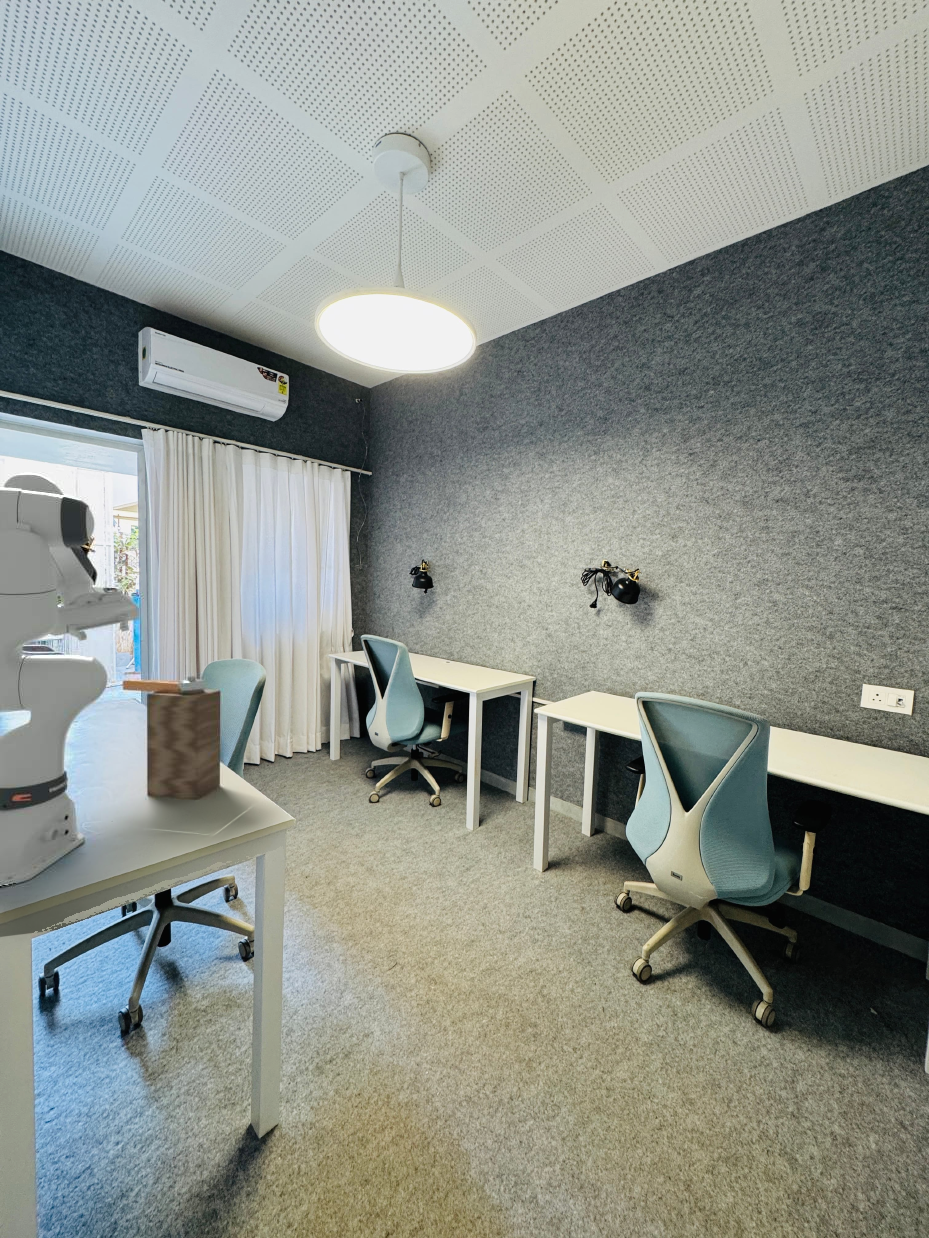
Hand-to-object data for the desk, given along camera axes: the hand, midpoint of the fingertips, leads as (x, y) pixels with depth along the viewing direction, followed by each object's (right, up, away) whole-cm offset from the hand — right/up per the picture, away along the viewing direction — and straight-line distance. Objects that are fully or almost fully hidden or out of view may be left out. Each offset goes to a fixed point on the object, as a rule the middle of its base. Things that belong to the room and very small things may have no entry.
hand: (105, 633), depth 129 cm
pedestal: (+20, -41, +1) cm, 46 cm away
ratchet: (+15, -15, 0) cm, 21 cm away
